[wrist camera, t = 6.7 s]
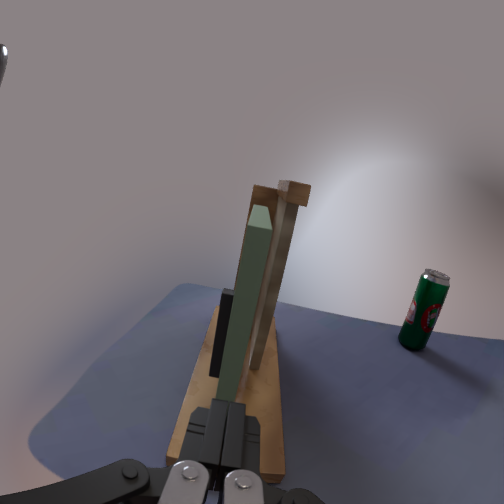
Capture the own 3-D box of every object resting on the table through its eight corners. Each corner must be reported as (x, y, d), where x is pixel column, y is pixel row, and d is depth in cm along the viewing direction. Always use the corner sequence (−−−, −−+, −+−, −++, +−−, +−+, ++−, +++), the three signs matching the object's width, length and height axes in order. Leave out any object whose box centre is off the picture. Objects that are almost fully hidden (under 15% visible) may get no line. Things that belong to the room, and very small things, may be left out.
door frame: (165, 465, 15) (190, 158, 10) (214, 315, 39) (239, 172, 34) (279, 483, 15) (393, 202, 10) (272, 325, 39) (304, 185, 34)
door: (199, 433, 17) (232, 221, 13) (218, 351, 28) (245, 202, 24) (225, 438, 17) (273, 229, 13) (237, 355, 28) (267, 206, 24)
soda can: (398, 333, 42) (422, 265, 39) (423, 342, 40) (450, 275, 37) (395, 345, 38) (423, 271, 35) (423, 355, 36) (454, 282, 33)
